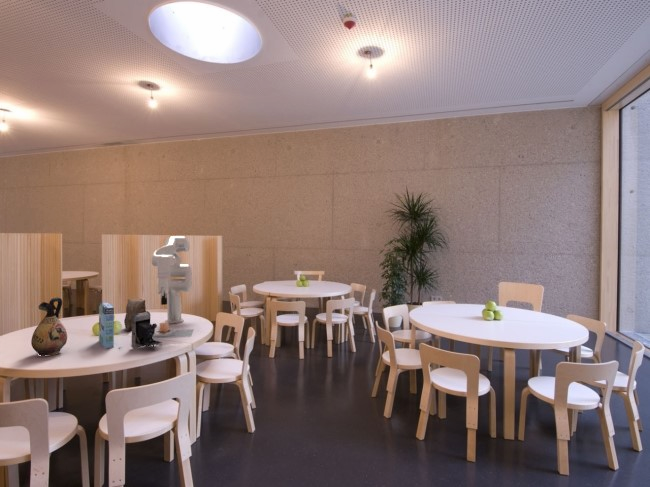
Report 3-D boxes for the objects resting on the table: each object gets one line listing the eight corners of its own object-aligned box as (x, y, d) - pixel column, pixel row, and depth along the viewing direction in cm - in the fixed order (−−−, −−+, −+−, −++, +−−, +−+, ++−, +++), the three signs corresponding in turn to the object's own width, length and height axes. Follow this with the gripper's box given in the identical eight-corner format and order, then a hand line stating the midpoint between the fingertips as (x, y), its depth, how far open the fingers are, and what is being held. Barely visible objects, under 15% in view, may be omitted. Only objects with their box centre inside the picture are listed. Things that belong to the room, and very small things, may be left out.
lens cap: (160, 333, 233) (160, 322, 232) (169, 332, 234) (169, 321, 234) (158, 336, 226) (158, 324, 226) (167, 335, 227) (167, 324, 227)
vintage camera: (146, 353, 198) (147, 317, 198) (130, 348, 206) (131, 313, 206) (162, 349, 206) (163, 314, 206) (146, 344, 214) (147, 310, 214)
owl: (124, 328, 251) (123, 299, 250) (144, 325, 258) (144, 297, 257) (126, 332, 240) (126, 302, 240) (147, 329, 248) (147, 300, 247)
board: (155, 333, 237) (155, 331, 237) (194, 331, 243) (194, 329, 243) (148, 341, 220) (148, 338, 219) (191, 338, 225) (191, 336, 225)
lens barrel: (155, 332, 235) (155, 329, 235) (176, 331, 238) (176, 328, 238) (150, 337, 222) (150, 334, 222) (173, 336, 225) (173, 333, 225)
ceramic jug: (49, 359, 187) (48, 301, 186) (23, 357, 190) (23, 300, 189) (77, 349, 204) (76, 296, 203) (53, 347, 206) (52, 295, 206)
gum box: (98, 341, 220) (98, 303, 219) (108, 339, 223) (108, 302, 223) (104, 348, 205) (103, 308, 204) (114, 347, 208) (114, 307, 208)
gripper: (159, 274, 235) (160, 302, 236) (155, 277, 221) (155, 307, 222) (172, 273, 237) (172, 301, 238) (168, 276, 223) (168, 306, 223)
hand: (164, 304), depth 230 cm, fingers closed
